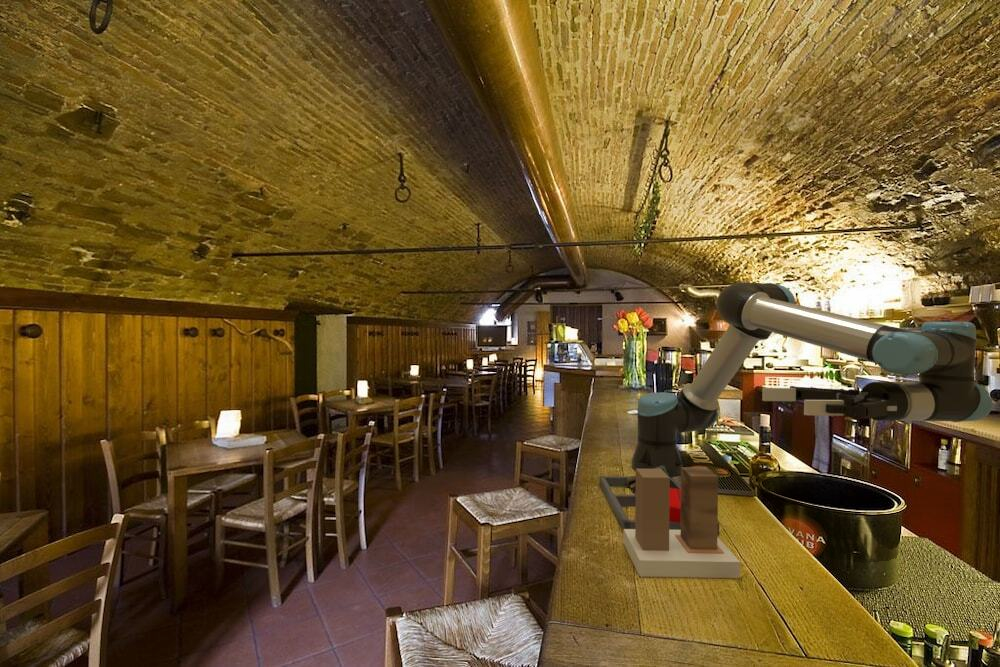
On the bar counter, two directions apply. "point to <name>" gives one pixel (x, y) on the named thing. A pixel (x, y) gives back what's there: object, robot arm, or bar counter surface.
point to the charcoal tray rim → (629, 500)
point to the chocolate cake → (632, 480)
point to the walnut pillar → (699, 507)
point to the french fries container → (675, 505)
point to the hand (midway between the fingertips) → (782, 400)
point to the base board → (669, 537)
